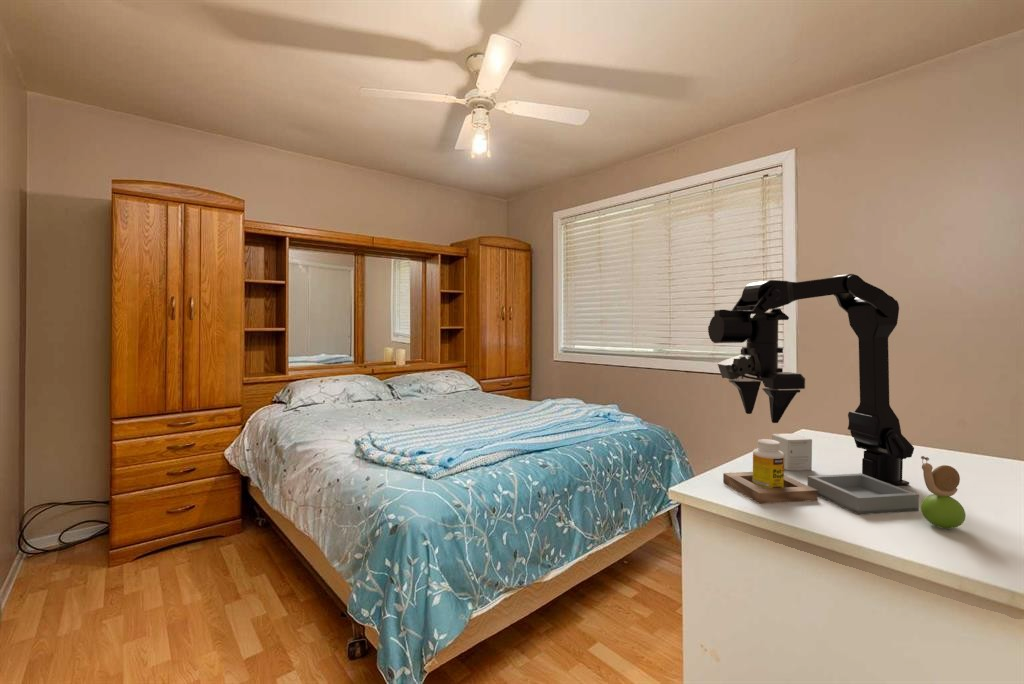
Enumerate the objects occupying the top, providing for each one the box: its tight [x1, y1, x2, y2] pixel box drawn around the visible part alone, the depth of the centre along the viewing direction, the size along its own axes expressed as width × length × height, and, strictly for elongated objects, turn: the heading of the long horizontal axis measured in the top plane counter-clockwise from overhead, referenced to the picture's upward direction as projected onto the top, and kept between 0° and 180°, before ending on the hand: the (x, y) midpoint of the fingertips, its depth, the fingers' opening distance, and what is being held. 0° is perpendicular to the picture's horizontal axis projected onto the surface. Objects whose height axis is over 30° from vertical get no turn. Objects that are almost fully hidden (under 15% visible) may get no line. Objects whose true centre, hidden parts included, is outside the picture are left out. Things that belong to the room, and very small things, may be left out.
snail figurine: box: [920, 455, 966, 530], centre depth 76 cm, size 5×6×12 cm
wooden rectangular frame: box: [722, 471, 819, 505], centre depth 94 cm, size 12×12×2 cm
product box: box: [771, 433, 813, 472], centre depth 110 cm, size 6×6×7 cm
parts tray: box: [807, 472, 920, 516], centre depth 89 cm, size 12×12×3 cm
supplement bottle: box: [752, 438, 785, 489], centre depth 94 cm, size 6×6×10 cm
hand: (761, 418), depth 95 cm, fingers open, 9 cm apart
